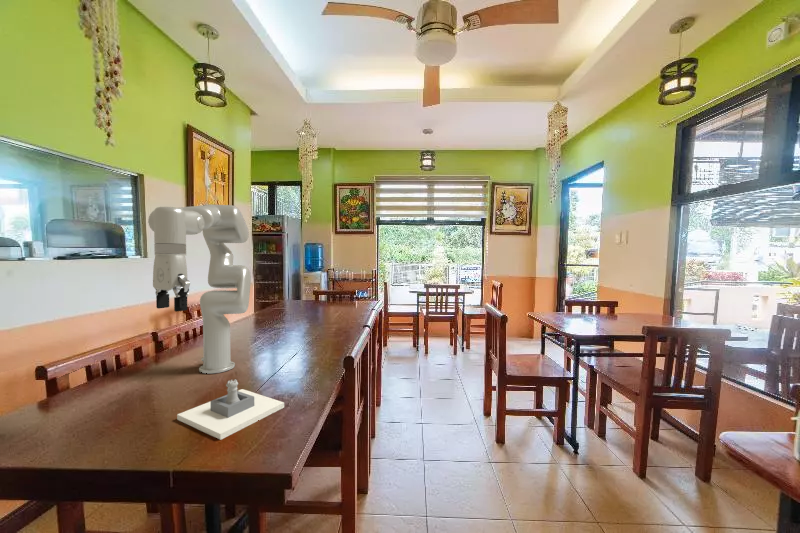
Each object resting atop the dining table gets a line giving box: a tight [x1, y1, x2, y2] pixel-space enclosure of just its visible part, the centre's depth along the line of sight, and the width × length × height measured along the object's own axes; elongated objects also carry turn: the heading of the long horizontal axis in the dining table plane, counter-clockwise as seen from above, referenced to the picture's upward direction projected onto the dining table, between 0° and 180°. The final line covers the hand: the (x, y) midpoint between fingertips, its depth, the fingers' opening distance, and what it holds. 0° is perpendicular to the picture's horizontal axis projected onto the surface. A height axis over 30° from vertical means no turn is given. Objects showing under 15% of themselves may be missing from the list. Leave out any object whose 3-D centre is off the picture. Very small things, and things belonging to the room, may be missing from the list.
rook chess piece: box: [225, 379, 240, 405], centre depth 95 cm, size 4×4×8 cm
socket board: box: [176, 388, 285, 441], centre depth 95 cm, size 20×20×4 cm
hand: (171, 309), depth 95 cm, fingers open, 9 cm apart
